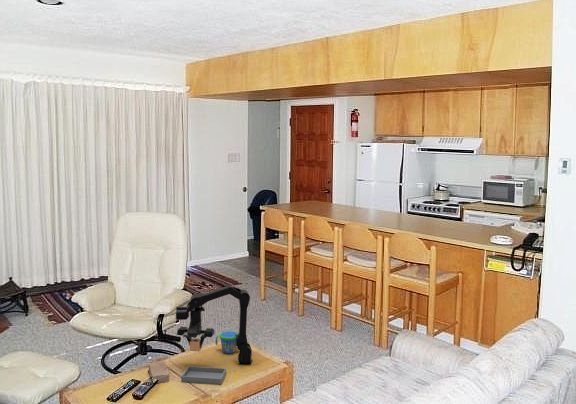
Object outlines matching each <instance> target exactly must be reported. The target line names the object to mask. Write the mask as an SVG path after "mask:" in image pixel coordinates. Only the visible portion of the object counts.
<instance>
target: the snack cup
mask: <svg viewBox="0 0 576 404" xmlns="http://www.w3.org/2000/svg"><path fill="white" fill-rule="evenodd" d="M238 333H239V332H237V331H232V330H228V331H222V332H221V333H219V334H218V335H217V336H216V337H215V345H216V346H217V345H218V343H219V342H218V337H219V339H220V343H221V345H220V346H221V351H222V353H224V354H234V353H235V352H236V351H237V346H236V344H235V339H236V337H235V335H238Z"/></svg>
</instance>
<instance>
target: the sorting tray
mask: <svg viewBox="0 0 576 404" xmlns="http://www.w3.org/2000/svg"><path fill="white" fill-rule="evenodd" d="M226 376H227V367H226V368H225V367H224V368H223V367H211V366H210V367H209V366H195V365H194V366H193V365H188V366H187V367H186V369H185V370H184V372H183V373H182V375H181V376H180V382H181V383H186V384H187V383H189V384H201V385H202V384H203V385H218V386H221V385H223V384H222V383H223V382H224V380H225V378H226Z"/></svg>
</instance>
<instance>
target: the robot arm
mask: <svg viewBox="0 0 576 404" xmlns="http://www.w3.org/2000/svg"><path fill="white" fill-rule="evenodd" d="M227 295H230V296H232V297H234V298H235V299H237V300H238V305H239V313H238V314H239V319H238V320H239V321H238V332H237V333H238V335H235V337H236V339H235V344H236V349H237V350H239V353H238V356H237V357H238V358H237V359H238V361H237V362H238V365H241V366H242V365H243V366H251V365H252V363H253V356H252V355H253V353H252V352H253V350H252V348H251V347H252V346H251V344H250V343H249V342H248V339H247V338H248V337H247V320H248V319H247V318H248V307H249V304H250V300H251V295H250V293H249V291H247V289H241V288H239V287H235V286H234V285H231V284H228V285H226V286H224V287H221V288H217V289H215V290H212V291H211V290H210V291H208V292H202V293H194V294H192V295H191V296H190V297H189V298H190V299H189V301H188V303H187V304H186V306H175V308H176V309H175V310H176V311H175V320H176V321H184V320H189V319H190V321H189V326H188V327H187V326H180V327H179V328H178V329H177V331H176V336H183V337H184V338H186V341H188V344H189V346H190V341H191V340H192V338H197V336H199V339H201V341H200V348H201V347H202V348H203V344H204V341H205V339H206V338H212V337H214V334H215V329H214V328H211V327H207V328H206V329H205V330H204V329H202V328H203V327H202V321H203V319H202V312H205V310H206V309H205V307H204V305H205V304H207V303H208V302H210V301H212V300H213V301H214V300H216V299H219V298H223V297H224V296H227ZM202 348H201V349H202Z"/></svg>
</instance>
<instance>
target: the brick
mask: <svg viewBox="0 0 576 404" xmlns="http://www.w3.org/2000/svg"><path fill="white" fill-rule="evenodd" d="M148 373H149V375H150V378H151V377H152V378H153V379H157V380H159V383H158V384H162V383H164V384H165V383H168V382H170V372H169V370H168V368H167V363H166V361H165V360H159V361H154V362H149V363H148Z"/></svg>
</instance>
